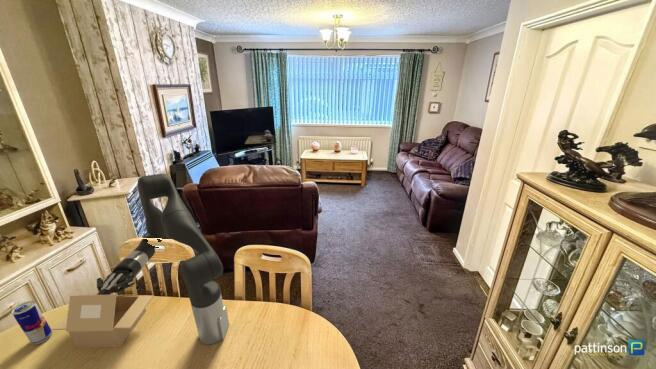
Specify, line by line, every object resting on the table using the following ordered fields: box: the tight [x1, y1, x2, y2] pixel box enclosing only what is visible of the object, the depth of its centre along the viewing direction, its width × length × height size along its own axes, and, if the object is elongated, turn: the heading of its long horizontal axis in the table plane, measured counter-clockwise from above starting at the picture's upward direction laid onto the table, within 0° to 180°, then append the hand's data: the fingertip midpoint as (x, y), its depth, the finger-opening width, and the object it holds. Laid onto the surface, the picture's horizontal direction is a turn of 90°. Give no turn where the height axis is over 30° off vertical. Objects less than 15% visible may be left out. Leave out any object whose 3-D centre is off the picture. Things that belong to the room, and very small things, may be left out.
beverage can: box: [11, 300, 53, 345], centre depth 83 cm, size 5×5×15 cm
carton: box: [52, 294, 155, 348], centre depth 88 cm, size 24×14×8 cm, turn 93°
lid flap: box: [65, 294, 117, 333], centre depth 81 cm, size 14×11×1 cm
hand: (96, 301), depth 83 cm, fingers closed
